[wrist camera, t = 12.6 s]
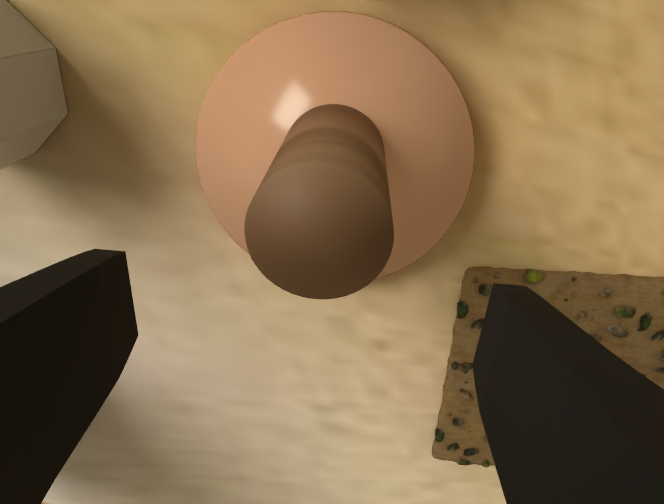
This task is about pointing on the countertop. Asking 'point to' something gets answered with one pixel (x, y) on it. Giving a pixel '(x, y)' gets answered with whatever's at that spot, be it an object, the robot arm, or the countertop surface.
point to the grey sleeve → (26, 87)
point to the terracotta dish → (346, 89)
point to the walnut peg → (323, 207)
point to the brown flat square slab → (575, 303)
